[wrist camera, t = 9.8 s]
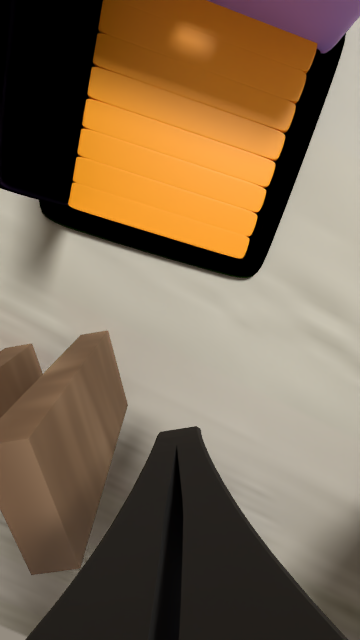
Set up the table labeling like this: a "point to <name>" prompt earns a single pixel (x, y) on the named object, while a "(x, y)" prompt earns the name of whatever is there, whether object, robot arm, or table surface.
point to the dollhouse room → (166, 117)
